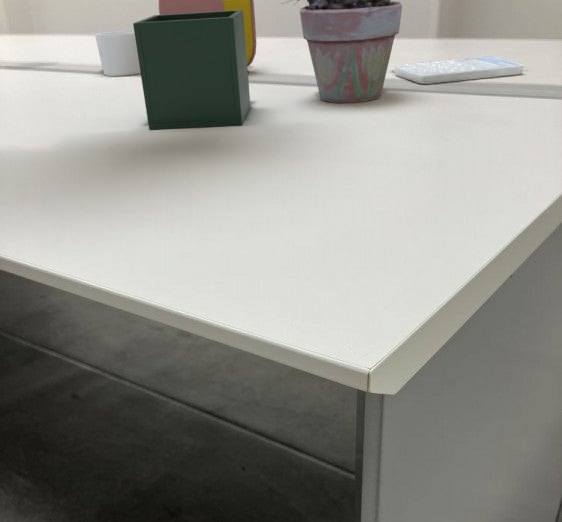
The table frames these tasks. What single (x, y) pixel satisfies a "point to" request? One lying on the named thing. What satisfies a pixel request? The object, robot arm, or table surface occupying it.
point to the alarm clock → (180, 3)
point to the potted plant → (350, 46)
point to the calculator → (458, 70)
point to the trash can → (194, 69)
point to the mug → (118, 53)
